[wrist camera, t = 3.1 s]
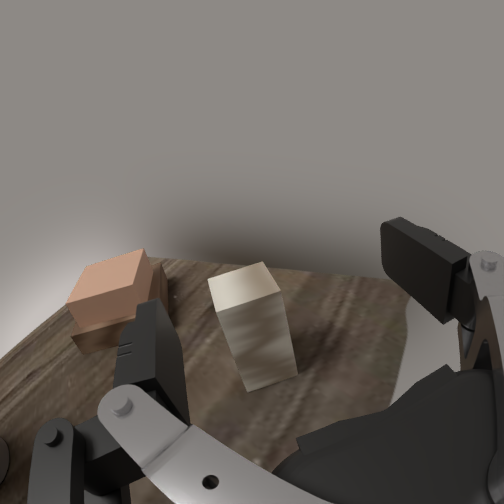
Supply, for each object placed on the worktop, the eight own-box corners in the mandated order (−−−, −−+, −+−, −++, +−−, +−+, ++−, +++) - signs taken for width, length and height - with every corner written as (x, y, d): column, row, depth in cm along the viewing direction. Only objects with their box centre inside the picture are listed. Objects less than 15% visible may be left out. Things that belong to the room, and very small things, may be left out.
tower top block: (80, 327, 36) (65, 303, 35) (96, 288, 45) (85, 266, 44) (145, 311, 37) (132, 284, 35) (153, 271, 46) (143, 248, 44)
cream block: (247, 392, 28) (216, 312, 23) (236, 357, 32) (207, 279, 27) (298, 374, 28) (280, 290, 24) (281, 342, 32) (262, 261, 28)
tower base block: (85, 358, 37) (70, 336, 35) (99, 305, 48) (88, 286, 47) (170, 334, 38) (159, 310, 37) (169, 283, 50) (160, 262, 48)
